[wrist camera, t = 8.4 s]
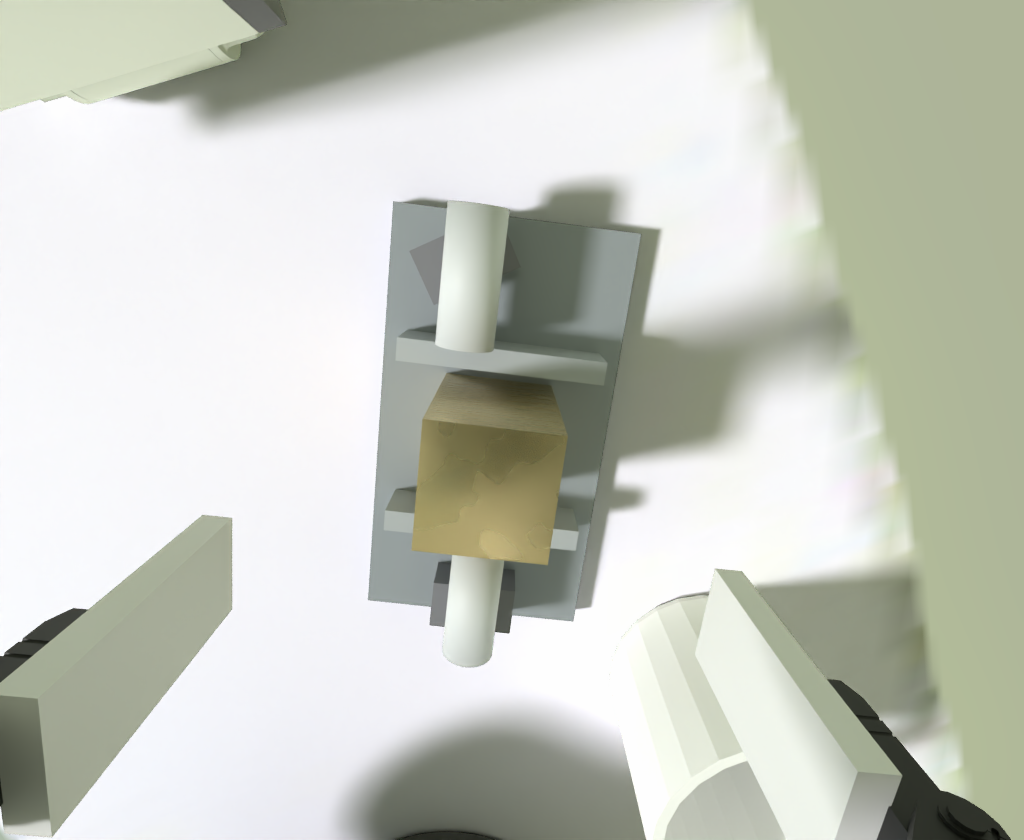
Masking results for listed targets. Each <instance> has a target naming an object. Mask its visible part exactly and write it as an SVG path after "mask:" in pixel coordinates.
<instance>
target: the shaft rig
mask: <svg viewBox="0 0 1024 840" xmlns="http://www.w3.org/2000/svg"><path fill="white" fill-rule="evenodd" d="M509 211H510V210H509V209H507V208H503V207H498V206H493V205H486V204H480V203H472V202H462V201H448V202H447V208H440V207H433V206H425V205H417V204H410V203H402V202H394V201H393V215H392V231H391V246H390V262H389V278H388V294H387V310H386V326H385V341H384V357H383V373H382V389H381V405H380V420H379V436H378V452H377V468H376V484H375V499H374V515H373V531H372V547H371V563H370V579H369V594H368V600H372V601H381V602H391V603H400V604H410V605H420V606H429V607H431V615H430V625H432V626H442V627H445V628H444V637H443V646H442V652H443V655H444V657H445V658H446V659H447V660H448V661H449V662H451V663H453V664H455V665H457V666H461V667H468V668H470V667H478V666H481V665H483V664H485V663H486V662H488V661H489V659H490V658H491V656H492V650H493V642H494V635H495V632H500V633H509V632H510V625H511V618H512V615H516V616H526V617H535V618H545V619H555V620H564V621H573V620H574V614H575V608H576V602H577V597H578V591H579V585H580V580H581V574H582V568H583V563H584V557H585V551H586V546H587V540H588V534H589V529H590V523H591V517H592V511H593V506H594V500H595V494H596V489H597V483H598V477H599V472H600V466H601V460H602V455H603V449H604V443H605V438H606V432H607V426H608V420H609V415H610V409H611V403H612V398H613V392H614V386H615V381H616V375H617V369H618V364H619V358H620V352H621V347H622V341H623V335H624V329H625V324H626V318H627V312H628V307H629V301H630V295H631V290H632V284H633V278H634V273H635V267H636V261H637V256H638V250H639V244H640V238H641V234H639V233H631V232H623V231H616V230H608V229H600V228H593V227H585V226H578V225H570V224H562V223H555V222H547V221H539V220H532V219H524V218H517V217H509ZM446 373H452V374H460V375H468V376H477V377H485V378H493V379H502V380H510V381H519V382H527V383H535V384H544V385H551V386H552V389H553V392H554V395H555V398H556V401H557V404H558V407H559V410H560V413H561V416H562V419H563V422H564V425H565V429H566V432H567V435H568V439H567V445H566V452H565V458H564V464H563V471H562V477H561V483H560V490H559V496H558V503H557V509H556V515H555V522H554V528H553V534H552V541H551V547H550V554H549V560H548V565H541V564H532V563H523V562H513V561H504V560H495V559H485V558H476V557H467V556H457V555H448V554H439V553H430V552H420V551H411V549H412V537H413V525H414V513H415V501H416V489H417V477H418V466H419V454H420V442H421V430H422V419H423V417H424V415H425V413H426V411H427V409H428V407H429V406H430V404H431V402H432V400H433V398H434V396H435V394H436V392H437V390H438V388H439V386H440V385H441V383H442V381H443V379H444V377H445V375H446Z"/></svg>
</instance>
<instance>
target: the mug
mask: <svg viewBox="0 0 1024 840" xmlns="http://www.w3.org/2000/svg"><path fill="white" fill-rule="evenodd" d="M707 600H708V596H705V595H699V596H692V597H686V598H679V599H675V600H673V601H670V602H668V603H665V604H663V605H660V606H657V607H655V608H654V609H652V610H651V611H650V612H648V613H647V614H645V615H644V616H642V617H641V618H639V619H638V620H637V621H636V622H635V623H634V624H633V625H632V626H631V627H630V629H629V630H628V631H627V632H626V633H625V634H624V635H623V636H622V638H621V640H620V642H619V644H618V646H617V648H616V650H615V652H614V654H613V656H612V662H611V668H610V674H609V676H610V683H611V690H612V696H613V700H614V705H615V709H616V713H617V717H618V722H619V726H620V730H621V734H622V739H623V743H624V747H625V751H626V756H627V760H628V764H629V768H630V773H631V777H632V781H633V785H634V790H635V794H636V798H637V802H638V807H639V811H640V815H641V819H642V824H643V828H644V832H645V836H646V840H787V839H786V837H785V835H784V833H783V831H782V829H781V827H780V825H779V823H778V821H777V819H776V817H775V815H774V813H773V811H772V809H771V807H770V805H769V803H768V801H767V799H766V797H765V795H764V793H763V791H762V789H761V787H760V785H759V783H758V781H757V779H756V777H755V775H754V773H753V771H752V769H751V767H750V765H749V763H748V761H747V759H746V756H745V754H744V752H743V750H742V748H741V746H740V744H739V742H738V740H737V738H736V736H735V734H734V732H733V730H732V728H731V726H730V724H729V722H728V720H727V718H726V716H725V714H724V712H723V710H722V708H721V706H720V704H719V702H718V700H717V698H716V696H715V694H714V692H713V690H712V688H711V686H710V684H709V682H708V680H707V678H706V676H705V674H704V672H703V670H702V668H701V666H700V664H699V662H698V660H697V658H696V656H695V651H696V647H697V643H698V639H699V634H700V630H701V626H702V622H703V617H704V613H705V609H706V605H707Z"/></svg>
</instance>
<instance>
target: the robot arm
mask: <svg viewBox="0 0 1024 840" xmlns="http://www.w3.org/2000/svg"><path fill="white" fill-rule="evenodd" d="M231 610H232V518H228V517H218V516H208V515H202V516H201V517H200V518H198V519H197V520H196V521H195V522H194V523H192V524H191V525H190V526H189V527H188V528H186V529H185V530H184V531H183V532H181V533H180V534H179V535H178V536H177V537H175V538H174V539H173V540H172V541H171V542H169V543H168V544H167V545H166V546H165V547H163V548H162V549H161V550H160V551H159V552H157V553H156V554H155V555H154V556H153V557H151V558H150V559H149V560H148V561H146V562H145V563H144V564H143V565H142V566H140V567H139V568H138V569H137V570H136V571H134V572H133V573H132V574H131V575H130V576H128V577H127V578H126V579H125V580H124V581H122V582H121V583H120V584H119V585H118V586H116V587H115V588H114V589H113V590H111V591H110V592H109V593H108V594H107V595H105V596H104V597H103V598H102V599H101V600H99V601H98V602H97V603H96V604H95V605H93V606H92V607H91V608H90V609H89V610H86V609H76V608H73V609H71V610H68V611H66V612H64V613H62V614H60V615H58V616H56V617H54V618H51V619H49V620H47V621H45V622H44V623H42V624H41V625H40V626H38V627H37V628H36V629H35V630H33V631H32V632H31V633H29V634H28V635H27V636H26V637H24V638H23V640H22V642H18V643H16V644H15V645H14V646H13V647H11V648H10V649H9V650H7V651H6V652H5V654H4V656H0V806H1V811H2V819H3V827H4V834H15V835H27V836H40V837H53V835H54V834H55V833H56V832H57V830H58V829H59V828H60V827H61V825H62V824H63V823H64V821H65V820H66V819H67V818H68V816H69V815H70V814H71V813H72V811H73V810H74V809H75V808H76V806H77V805H78V804H79V802H80V801H81V800H82V799H83V797H84V796H85V795H86V794H87V792H88V791H89V790H90V789H91V787H92V786H93V785H94V783H95V782H96V781H97V780H98V778H99V777H100V776H101V775H102V773H103V772H104V771H105V770H106V768H107V767H108V766H109V764H110V763H111V762H112V761H113V759H114V758H115V757H116V756H117V754H118V753H119V752H120V751H121V749H122V748H123V747H124V745H125V744H126V743H127V742H128V740H129V739H130V738H131V737H132V735H133V734H134V733H135V732H136V730H137V729H138V728H139V726H140V725H141V724H142V723H143V721H144V720H145V719H146V718H147V716H148V715H149V714H150V713H151V711H152V710H153V709H154V707H155V706H156V705H157V704H158V702H159V701H160V700H161V699H162V697H163V696H164V695H165V694H166V692H167V691H168V690H169V688H170V687H171V686H172V685H173V683H174V682H175V681H176V680H177V678H178V677H179V676H180V675H181V673H182V672H183V671H184V669H185V668H186V667H187V666H188V664H189V663H190V662H191V661H192V659H193V658H194V657H195V656H196V654H197V653H198V652H199V650H200V649H201V648H202V647H203V645H204V644H205V643H206V642H207V640H208V639H209V638H210V636H211V635H212V634H213V633H214V631H215V630H216V629H217V628H218V626H219V625H220V624H221V623H222V621H223V620H224V619H225V617H226V616H227V615H228V614H229V612H230V611H231ZM695 656H696V658H697V660H698V662H699V664H700V666H701V668H702V670H703V672H704V674H705V676H706V678H707V680H708V682H709V684H710V686H711V688H712V690H713V692H714V694H715V696H716V698H717V700H718V702H719V704H720V706H721V708H722V710H723V712H724V714H725V716H726V718H727V720H728V722H729V724H730V726H731V728H732V730H733V732H734V734H735V736H736V738H737V740H738V742H739V744H740V746H741V748H742V750H743V752H744V754H745V756H746V759H747V761H748V763H749V765H750V767H751V769H752V771H753V773H754V775H755V777H756V779H757V781H758V783H759V785H760V787H761V789H762V791H763V793H764V795H765V797H766V799H767V801H768V803H769V805H770V807H771V809H772V811H773V813H774V815H775V817H776V819H777V821H778V823H779V825H780V827H781V829H782V831H783V833H784V835H785V837H786V839H787V840H1011V839H1010V837H1009V836H1008V835H1007V834H1006V832H1005V831H1004V830H1003V828H1002V827H1001V826H1000V825H999V824H998V823H997V822H996V821H995V820H994V819H993V818H991V817H990V816H989V815H988V814H987V813H986V812H985V811H983V810H982V809H980V808H978V807H977V806H975V805H974V804H972V803H970V802H969V801H967V800H966V799H963V798H961V797H959V796H956V795H954V794H951V793H949V792H944V791H940V790H939V788H938V787H937V786H936V785H935V784H934V782H933V781H932V780H931V779H930V778H929V776H928V775H927V774H926V773H925V772H924V770H923V769H922V768H921V767H920V766H919V764H918V763H917V762H916V761H915V760H914V758H913V757H912V756H911V755H910V754H909V752H908V751H907V750H906V749H905V748H904V746H903V745H902V744H901V743H900V742H899V740H898V739H897V738H896V737H893V736H892V732H891V731H890V730H889V728H888V727H887V726H886V725H885V724H884V722H883V721H880V720H879V717H878V715H877V714H876V713H875V712H874V711H873V709H872V708H871V707H870V706H869V705H868V703H867V702H866V701H865V700H864V699H863V698H862V697H861V696H860V695H858V694H857V693H856V692H855V691H853V690H852V689H851V688H849V687H848V686H847V685H845V684H844V683H843V682H842V681H839V680H829V679H826V678H825V676H824V675H823V674H822V673H821V671H820V670H819V669H818V667H817V666H816V665H815V664H814V662H813V661H812V660H811V659H810V657H809V656H808V655H807V653H806V652H805V651H804V650H803V648H802V647H801V646H800V645H799V643H798V642H797V641H796V639H795V638H794V637H793V636H792V634H791V633H790V632H789V631H788V629H787V628H786V627H785V625H784V624H783V623H782V622H781V620H780V619H779V618H778V617H777V615H776V614H775V613H774V611H773V610H772V609H771V608H770V606H769V605H768V604H767V603H766V601H765V600H764V599H763V597H762V596H761V595H760V594H759V592H758V591H757V590H756V589H755V587H754V586H753V585H752V583H751V582H750V581H749V580H748V578H747V577H746V576H745V574H744V573H743V572H742V571H733V570H724V569H715V571H714V575H713V579H712V584H711V588H710V592H709V596H708V600H707V605H706V609H705V613H704V617H703V622H702V626H701V630H700V634H699V639H698V643H697V647H696V651H695ZM399 840H495V839H491V838H488V837H484V836H480V835H475V834H469V833H459V832H434V833H425V834H419V835H414V836H410V837H406V838H403V839H399Z"/></svg>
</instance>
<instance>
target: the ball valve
mask: <svg viewBox="0 0 1024 840" xmlns="http://www.w3.org/2000/svg"><path fill="white" fill-rule="evenodd" d="M285 25H287V23H286V19H285V16H284V13H283V10H282V7H281V3H280V0H0V111H3V110H6V109H10V108H13V107H16V106H20V105H23V104H26V103H29V102H33V101H36V100H39V99H40V100H42V101H43V102H48V101H51V100H54V99H58V98H61V97H64V96H67V97H69V98H71V99H73V100H75V101H77V102H80V103H83V104H91V103H95V102H98V101H101V100H105V99H108V98H111V97H115V96H118V95H121V94H125V93H128V92H131V91H135V90H138V89H142V88H145V87H148V86H152V85H155V84H158V83H162V82H165V81H168V80H172V79H175V78H178V77H182V76H185V75H188V74H192V73H195V72H198V71H202V70H205V69H208V68H212V67H215V66H218V65H222V64H225V63H228V62H232V61H235V60H238V59H239V58H240V55H241V43H243V42H247V41H250V40H253V39H257V38H258V37H260V36H261V35H262V34H263V33H264V32H265V31H268V30H271V29H275V28H278V27H281V26H285Z"/></svg>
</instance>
